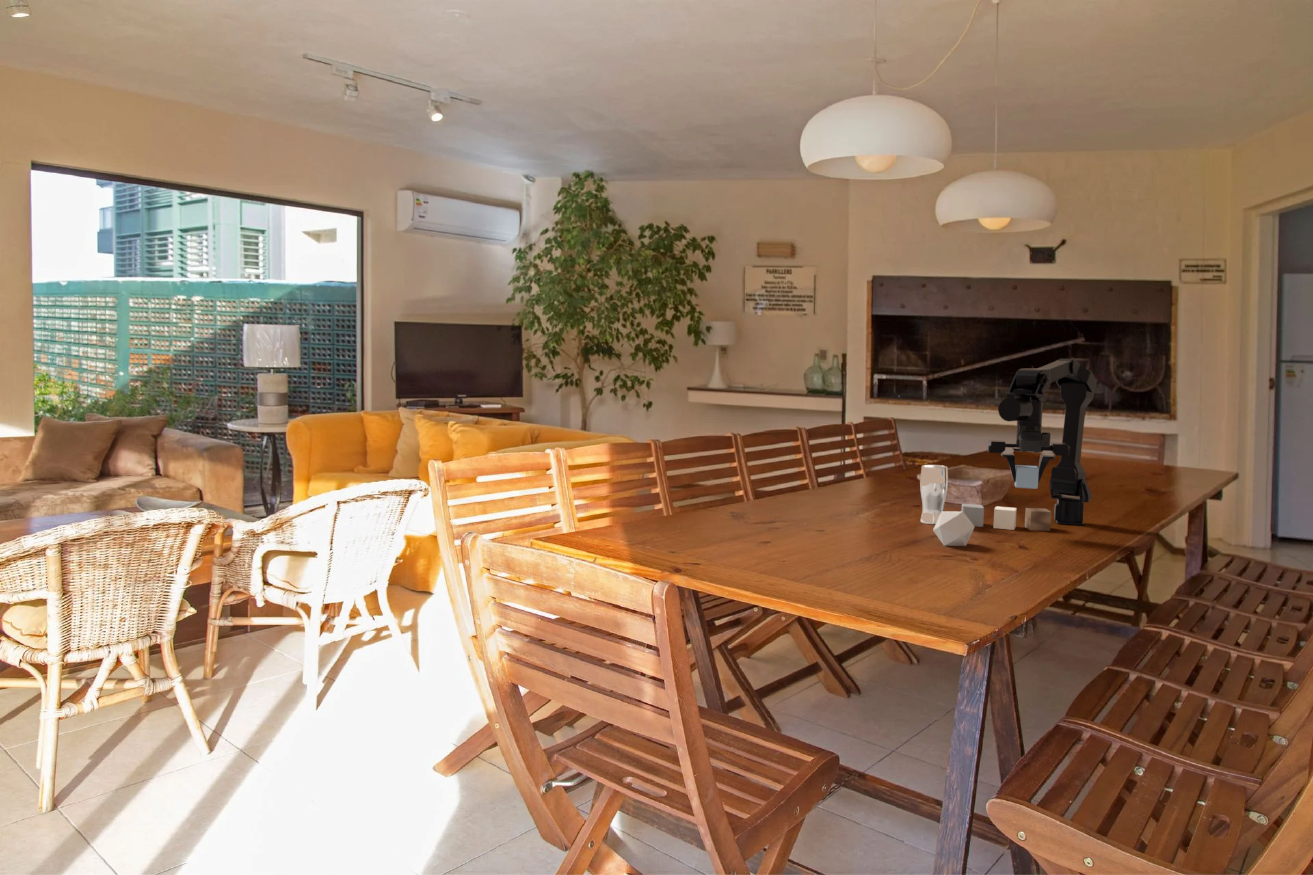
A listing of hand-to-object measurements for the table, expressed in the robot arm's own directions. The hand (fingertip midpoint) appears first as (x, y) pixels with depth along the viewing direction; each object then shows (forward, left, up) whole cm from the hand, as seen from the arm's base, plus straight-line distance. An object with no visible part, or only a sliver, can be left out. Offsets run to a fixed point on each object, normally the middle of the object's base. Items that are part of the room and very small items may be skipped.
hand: (1026, 482), depth 235 cm
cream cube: (+4, -8, -13) cm, 16 cm away
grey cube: (+12, -9, -13) cm, 20 cm away
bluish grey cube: (0, 0, -1) cm, 1 cm away
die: (+17, +20, -13) cm, 29 cm away
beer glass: (+22, -8, -13) cm, 27 cm away
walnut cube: (-4, -9, -13) cm, 16 cm away
